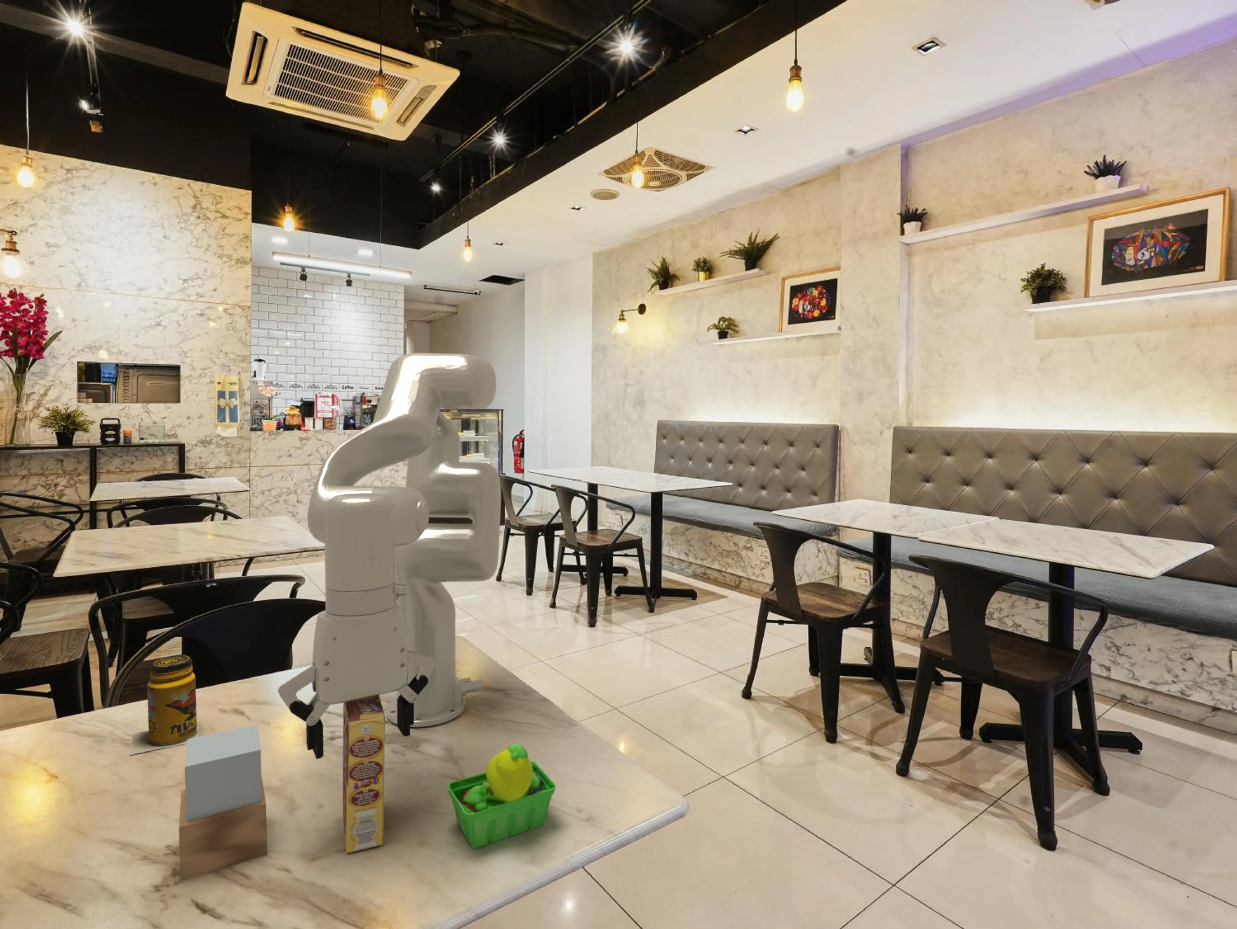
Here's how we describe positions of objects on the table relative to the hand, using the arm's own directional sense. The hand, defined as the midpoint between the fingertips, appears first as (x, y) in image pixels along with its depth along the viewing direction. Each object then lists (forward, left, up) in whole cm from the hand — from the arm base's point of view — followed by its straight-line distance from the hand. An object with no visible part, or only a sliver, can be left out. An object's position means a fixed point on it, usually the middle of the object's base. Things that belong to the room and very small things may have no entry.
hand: (362, 742), depth 76 cm
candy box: (0, 0, -11) cm, 11 cm away
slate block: (+14, -5, -5) cm, 15 cm away
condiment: (+20, -39, -11) cm, 45 cm away
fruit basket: (-14, +9, -11) cm, 20 cm away
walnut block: (+14, -5, -11) cm, 18 cm away
